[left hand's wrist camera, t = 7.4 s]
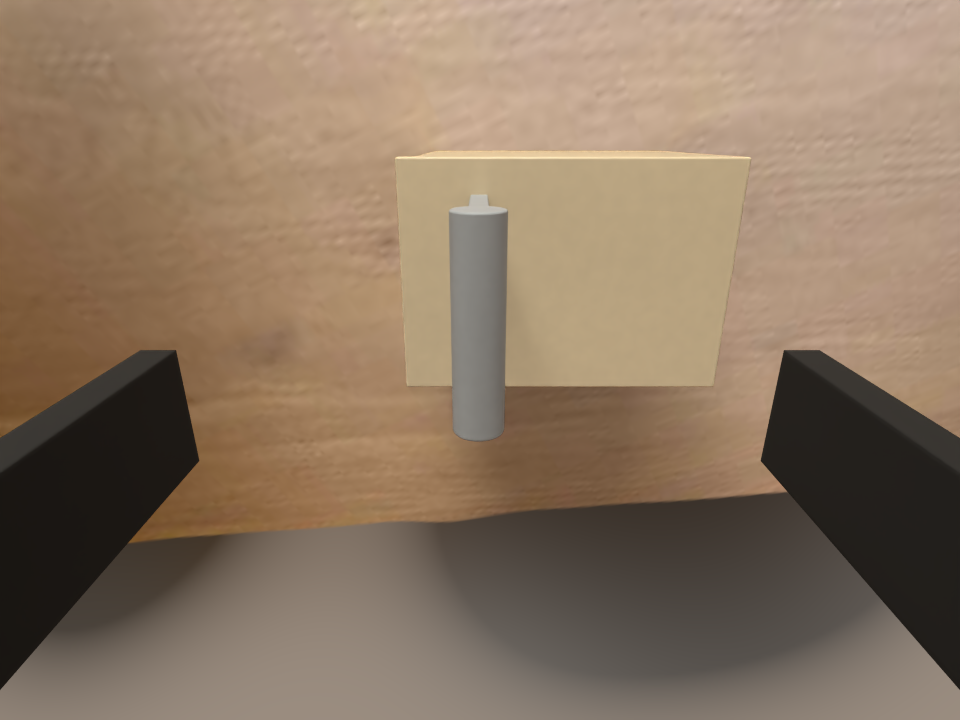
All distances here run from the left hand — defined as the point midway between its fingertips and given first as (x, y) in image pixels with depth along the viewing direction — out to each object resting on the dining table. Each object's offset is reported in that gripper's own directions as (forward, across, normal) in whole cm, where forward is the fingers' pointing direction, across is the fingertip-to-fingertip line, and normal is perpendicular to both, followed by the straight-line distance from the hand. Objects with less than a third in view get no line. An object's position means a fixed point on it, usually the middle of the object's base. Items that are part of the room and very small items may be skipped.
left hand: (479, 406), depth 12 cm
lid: (+13, +4, 0) cm, 13 cm away
